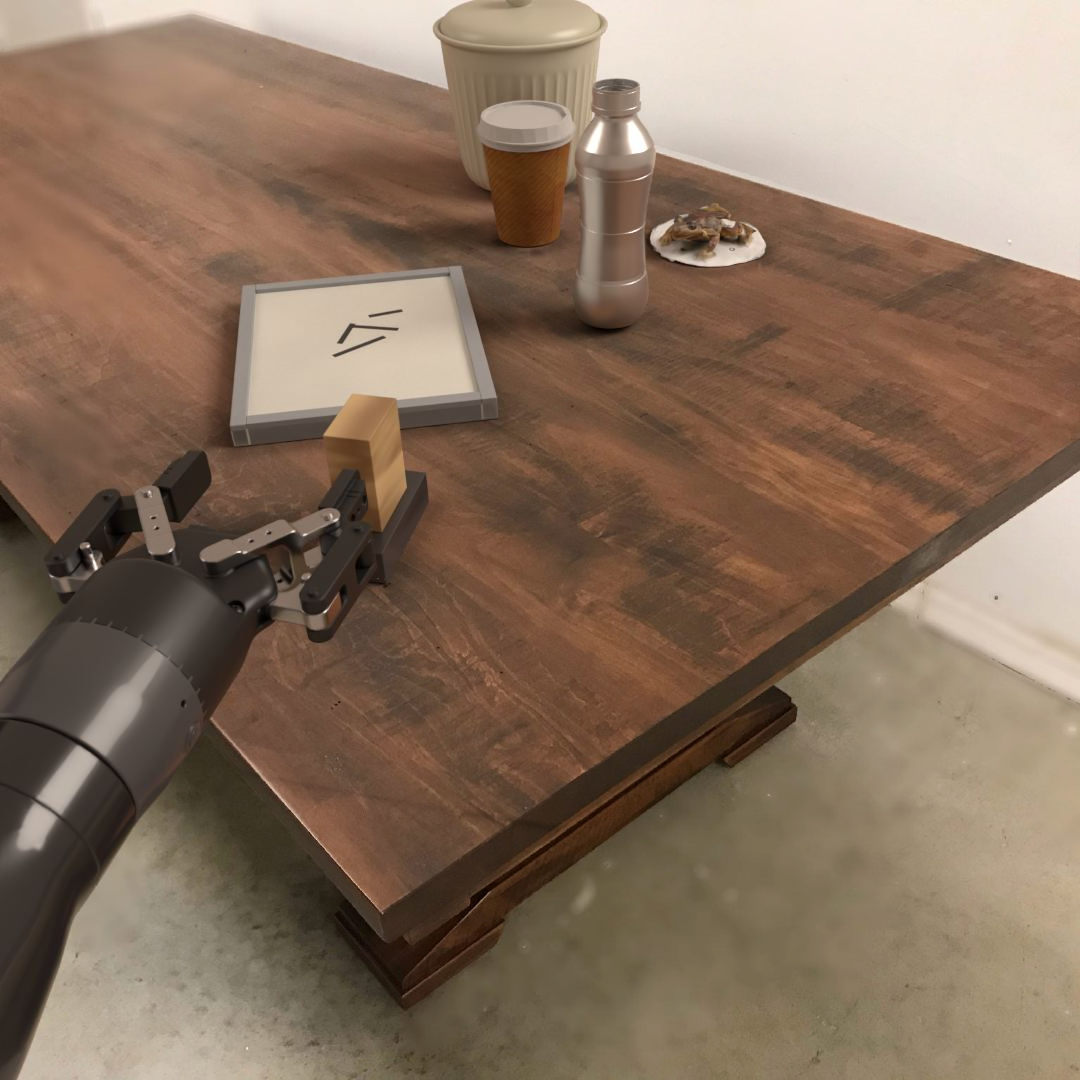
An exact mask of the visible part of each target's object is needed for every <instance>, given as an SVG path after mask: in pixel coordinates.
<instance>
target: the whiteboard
mask: <svg viewBox="0 0 1080 1080" xmlns="http://www.w3.org/2000/svg"><path fill="white" fill-rule="evenodd" d="M236 339H237V342H236V352H235V364H234V372H233V373H234V374H233V385H232V395H231V406H230V418H229V430H230V435H231V439H232V442H233V446H234V447H246V446H257V445H266V444H274V443H275V444H276V443H283V442H294V441H301V440H303V441H304V440H310V439H320V438H323V435H324V433H325V432H326V430H327V429H328V427H329V426H330V425H331V423H332V422H333V420H334V419H335V417H336V416H337V415H338V413H339V412H340V410H341V409H342V408H343V406H344V405H345V403H346V402H347V400H348V399H349V398H350V396H351V395H352V394H361V395H371V396H380V397H389V398H396V399H397V408H398V416H399V425H400V430H402V429H412V428H423V427H431V426H441V425H449V424H459V423H467V422H477V421H487V420H495V419H496V420H497V419H499V412H498V411H499V410H498V409H499V408H498V396H497V393H496V389H495V385H494V382H493V381H494V380H493V379H492V375H491V371H490V367H489V363H488V360H487V356H486V353H485V350H484V344H483V341H482V337H481V334H480V330H479V327H478V323H477V319H476V316H475V312H474V308H473V305H472V300H471V298H470V294H469V289H468V286H467V283H466V280H465V276H464V272H463V268H462V265H451V266H443V267H433V268H421V269H411V270H398V271H389V272H376V273H367V274H366V273H365V274H356V275H355V274H354V275H343V276H335V277H334V276H332V277H323V278H312V279H311V278H310V279H299V280H290V281H289V280H288V281H279V282H278V281H277V282H269V283H267V282H266V283H257V284H246V285H241V297H240V308H239V318H238V329H237V338H236Z"/></svg>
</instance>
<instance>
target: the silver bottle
mask: <svg viewBox="0 0 1080 1080" xmlns="http://www.w3.org/2000/svg"><path fill="white" fill-rule="evenodd" d="M641 110H642V102H641V86H640V83H639V82H638V81H636V80H634V79H629V78H615V77H614V78H606V79H605V78H604V79H600V80H598V81H597V80H596V82H595V83H594V84H593V87H592V102H591V111H592V113H593V114H594V116H593V117H592V119H591V122H590V124H589V125H588V126H587V128H586V129H585V131H584V132H583V134H582V136H581V137H580V139H579V141H578V144H577V147H576V151H575V167H576V176H577V178H576V183H577V190H578V198H579V218H580V223H579V225H580V237H579V248H578V259H577V268H576V270H575V275H574V278H573V279H574V280H573V287H572V291H571V294H572V295H571V296H572V301H573V307H574V311H575V313H576V314H577V316H578V317H579V318H580V320H581V321H582V322H583V323H584V324H586V325H588V326H591V327H594V328H597V329H620V328H625V327H629V326H631V325H633V324H635V323H637V322H638V321H639V320H640V318H641V317H642V316H643V314H644V313H645V311H646V309H647V304H648V302H649V301H648V300H649V296H650V289H649V288H650V286H649V277H648V271H647V268H646V242H645V241H646V239H645V238H646V237H645V230H646V223H647V222H646V218H647V211H648V201H649V196H650V191H651V185H652V181H653V175H654V169H655V165H656V159H657V158H656V157H657V151H656V146H655V142H654V140H653V138H652V136H651V135H650V133H649V131H648V129H647V127H646V126H645V125H644V123H643V122H642V120H641V119H640V118H639V116H638V113H639V112H640V111H641Z"/></svg>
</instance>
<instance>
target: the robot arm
mask: <svg viewBox="0 0 1080 1080" xmlns="http://www.w3.org/2000/svg"><path fill="white" fill-rule="evenodd" d="M210 467H211V466H210V463H209V459H208V456H207V453H206V451H204V450H198V449H188V450H187V451H186V453H185V454H184V455H183V456H181V457H178V458H177V459H175V460H172V461H171V463H169V465H168V466H167V467H166V469H164V470H163V472H162V473H161V474H160V475H159V476H158V477H157V479H155V480H154V482H153V483H152V484H151V485H144V486H142V487H139V488H138V489H136V490H135V491H134V493H133V494H131V495H121V491H119V489H116V488H106V489H102V490H100V491H98V492H97V493H96V494H95V495H94V496H93V498H92V499H90V501H89V502H88V503H87V505H85V507H84V508H83V510H82V511H81V512H80V513H79V515H78V516H77V517H76V518H75V519H74V521H73V522H72V523H71V524H70V525H69V526H68V528H67V529H66V530H65V531H64V532H63V533H62V535H61V536H60V537H59V538H58V540H57V541H56V542H55V543H54V544H53V546H52V547H51V548H50V549H49V551H47V553H46V554H45V556H44V558H43V561H44V565H45V567H46V569H47V572H48V576H49V578H50V581H51V583H52V586H53V589H54V591H55V593H56V595H57V597H58V600H59V602H60V603H61V604H63V605H64V606H63V607H62V608H61V610H60V611H58V613H57V614H56V615H55V617H53V619H51V621H50V622H49V623H48V624H47V626H46V627H45V628H44V629H43V630H42V632H41V633H40V634H39V635H37V637H36V639H35V640H34V641H33V642H32V643H31V644H30V646H29V647H28V648H27V649H26V650H25V651H24V652H23V653H22V655H21V656H20V657H19V658H18V659H17V660H16V662H15V663H14V664H13V665H12V667H11V668H10V669H9V670H8V671H7V673H5V675H3V678H1V680H0V1080H18V1079H19V1076H20V1074H21V1072H22V1069H23V1067H24V1064H25V1063H26V1060H27V1057H28V1055H29V1052H30V1050H31V1046H32V1044H33V1041H34V1039H35V1035H36V1033H37V1030H38V1027H39V1025H40V1022H41V1019H42V1017H43V1014H44V1011H45V1009H46V1005H47V1003H48V1000H49V997H50V994H51V992H52V989H53V986H54V984H55V982H56V978H57V976H58V972H59V970H60V967H61V964H62V961H63V957H64V954H65V950H66V946H67V943H68V939H69V935H70V932H71V929H72V925H73V923H74V920H75V918H76V916H77V915H78V914H79V912H80V911H81V910H82V908H83V907H84V905H85V904H86V903H87V901H88V900H89V899H90V897H91V895H92V894H93V893H94V891H95V889H96V887H98V884H99V883H100V882H101V880H102V879H103V877H104V875H105V874H106V872H107V871H108V870H109V868H110V866H111V864H112V863H113V861H114V859H115V858H116V857H117V855H118V854H119V852H120V850H121V849H122V847H123V846H124V844H125V843H126V841H127V839H128V838H129V836H130V834H131V833H132V831H133V829H134V828H135V827H136V825H137V824H138V822H139V821H140V819H141V818H142V817H143V815H144V814H145V813H146V812H147V811H148V810H149V809H150V807H151V806H152V805H153V804H154V803H155V802H156V801H157V800H158V798H159V797H160V795H161V794H163V792H164V791H165V790H166V788H167V787H168V785H169V784H170V783H171V782H172V780H173V778H174V777H175V775H176V774H177V772H178V770H179V769H180V768H181V766H182V764H183V763H184V761H185V759H186V758H187V756H188V754H189V753H190V751H191V750H192V749H193V747H194V746H195V744H196V743H197V741H198V738H199V737H200V735H201V734H202V732H203V730H204V729H205V728H206V726H207V724H208V723H209V721H210V719H211V718H212V716H213V715H214V713H215V711H216V710H217V708H218V706H219V705H220V703H221V702H222V700H223V699H224V697H225V696H226V694H227V693H228V691H229V689H230V687H231V686H232V685H233V683H234V681H235V680H236V678H237V677H238V675H239V674H240V672H241V670H242V668H243V665H244V664H245V662H246V658H247V655H248V654H249V650H250V648H251V645H252V643H253V641H254V640H255V638H256V637H257V636H258V635H259V634H260V633H261V632H263V631H264V630H265V629H268V628H269V627H271V626H272V625H273V624H274V623H276V621H277V622H282V623H286V624H292V625H296V626H302V627H305V630H306V636H307V639H308V640H309V641H310V642H312V643H315V644H323V643H326V642H329V641H330V640H332V638H333V637H334V636H335V635H336V633H337V631H338V630H339V628H340V627H341V625H342V624H343V622H344V621H345V619H346V617H347V616H348V614H349V613H350V611H351V610H352V609H353V607H354V605H355V604H356V602H357V600H358V599H359V597H360V596H361V594H362V593H363V591H364V590H365V588H366V586H367V585H368V583H369V580H370V579H371V577H372V576H373V574H374V573H375V571H376V569H377V563H376V557H375V550H374V543H373V537H372V530H371V525H370V524H369V523H368V522H366V521H361V520H362V519H363V517H364V515H365V514H366V512H367V510H368V498H367V491H366V484H365V480H361V478H360V472H359V470H358V469H350V468H343V469H342V471H341V472H340V474H339V476H338V477H337V479H336V480H335V482H334V483H333V485H332V486H331V485H330V487H329V489H328V491H327V492H326V494H325V495H324V497H323V498H322V500H321V501H320V503H319V505H318V506H317V509H318V511H315V512H313V513H311V514H308V515H305V516H304V517H302V518H300V519H298V520H295V521H293V522H289V521H287V520H286V519H284V518H281V519H277V520H274V521H272V522H270V523H268V524H266V525H263V526H261V527H259V528H256V529H255V530H252V531H244V530H239V529H238V530H236V529H234V530H230V529H229V530H217V529H214V528H212V527H209V526H207V525H198V524H192V523H190V524H189V526H188V527H187V528H180V529H176V530H173V531H172V527H171V523H175V524H181V522H183V520H184V519H185V518H186V516H187V515H188V514H189V513H190V512H191V510H192V509H193V508H194V507H195V505H196V504H197V503H198V502H199V500H200V499H201V498H202V497H203V496H204V494H205V493H206V491H207V490H208V489H209V488H210V487H211V485H212V480H213V477H212V476H213V475H212V472H211V468H210ZM133 533H143V536H144V541H145V543H143V544H141V545H139V546H137V547H135V548H132V549H129V550H127V551H126V552H123V553H121V554H119V553H120V551H121V550H122V549H123V548H124V546H125V545H126V543H127V542H128V541H129V539H130V538H131V537H132V535H133ZM317 538H318V541H319V543H320V545H319V546H314V547H313V548H311V549H309V550H307V551H304V547H305V545H306V544H307V543H309V542H311V541H313V540H315V539H317ZM275 549H277V552H278V556H279V561H280V568H279V570H278V571H277V572H276V573H275V574H274V573H273V570H272V567H271V565H270V562H269V558H268V556H267V553H269V552H271V551H274V550H275ZM118 554H119V555H118Z"/></svg>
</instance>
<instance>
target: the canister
mask: <svg viewBox="0 0 1080 1080" xmlns="http://www.w3.org/2000/svg"><path fill="white" fill-rule="evenodd" d="M608 26H609V23H608V20H607V18H606V17H605V16H604V15H603V14H601V13H599V12H597V11H595V10H594V9H593V7H591V6H590V5H588V4H586V3H584V2H582V1H579V0H468V1H466V2H463V3H460V4H458V5H456V6H455V7H452V8H451V9H450V10H448V11H447V12H446V13H445V14H444V15H443V16H441V17H440V18H438V19H437V20H435V22H434V24H433V25H432V32H433V34H434V36H435V38H437V39H438V40H439V41H440V48H441V52H442V53H441V54H442V58H443V66H444V72H445V78H446V83H447V89H448V95H449V101H450V107H451V113H452V118H453V123H454V129H455V133H456V139H457V143H458V144H457V145H458V149H459V153H460V158H461V162H462V165H463V168H464V170H465V172H466V174H467V176H468V178H470V180H471V181H472V182H473V183H474V184H475V185H476V186H477V187H480V188H481V189H484V190H486V191H487V192H491V190H490V184H489V178H488V172H487V168H486V161H485V155H484V149H483V144H482V142H481V140H480V137H479V135H478V134H477V130H476V129H477V126H478V125H479V123H480V117H481V114H482V112H483V111H484V110H485V109H487V108H488V107H491V106H493V105H496V104H500V103H504V102H511V101H522V100H536V101H546V102H552V103H556V104H559V105H562V106H564V107H566V108H567V109H568V110H569V111H570V113H571V118H572V121H573V122H574V124H575V126H576V129H575V132H574V133H573V138H572V139H571V141H570V149H569V157H568V167H567V174H566V183H565V188H566V187H568V186H569V185H571V184H573V183H574V182H575V181H577V176H576V167H575V151H576V147H577V144H578V141H579V139H580V137H581V136H582V134H583V132H584V131H585V129H586V128H587V126H588V125H589V124H590V122H591V121H592V119H593V112H592V111H591V102H592V87H593V84H594V83H595V82H597V75H598V66H599V57H600V49H601V37H602V36H603V35H604V34H605V33H606V31H607V29H608Z"/></svg>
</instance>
